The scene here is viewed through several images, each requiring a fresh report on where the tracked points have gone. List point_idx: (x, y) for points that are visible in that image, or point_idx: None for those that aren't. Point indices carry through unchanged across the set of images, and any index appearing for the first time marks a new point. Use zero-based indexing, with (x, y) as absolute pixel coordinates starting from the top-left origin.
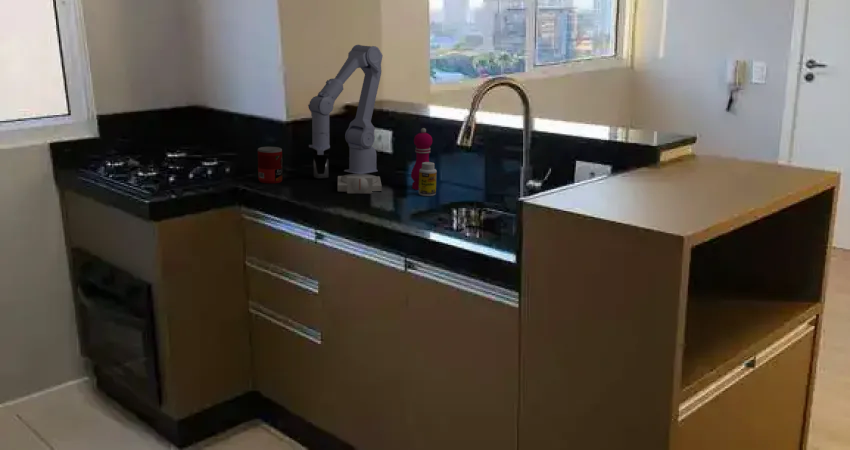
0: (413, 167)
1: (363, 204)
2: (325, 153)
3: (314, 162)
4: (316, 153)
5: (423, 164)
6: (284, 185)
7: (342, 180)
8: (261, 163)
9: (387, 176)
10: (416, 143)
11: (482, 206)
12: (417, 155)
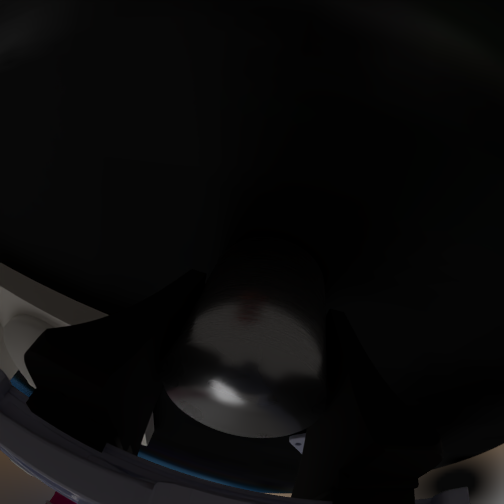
0: None
1: None
2: (303, 476)
3: (219, 319)
4: (68, 400)
5: (10, 458)
6: (84, 4)
7: (19, 318)
8: None
9: (246, 468)
10: None
11: None
12: (55, 498)
